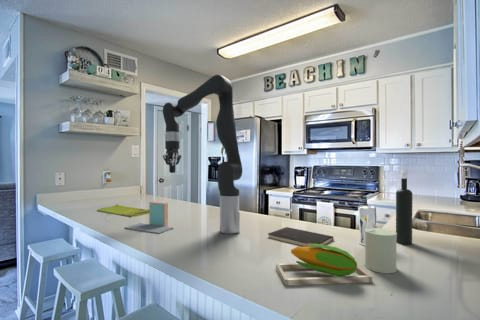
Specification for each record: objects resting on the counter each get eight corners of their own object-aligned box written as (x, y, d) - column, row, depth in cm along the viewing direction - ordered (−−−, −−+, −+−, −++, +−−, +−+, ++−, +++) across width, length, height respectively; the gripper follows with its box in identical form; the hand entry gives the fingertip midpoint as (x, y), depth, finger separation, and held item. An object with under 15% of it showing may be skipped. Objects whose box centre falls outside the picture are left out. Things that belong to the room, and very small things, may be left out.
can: (358, 262, 90) (358, 226, 90) (385, 261, 90) (385, 226, 90) (374, 273, 81) (374, 234, 80) (403, 273, 81) (403, 233, 81)
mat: (173, 228, 132) (173, 227, 132) (159, 233, 123) (159, 232, 123) (140, 224, 141) (140, 223, 141) (124, 228, 132) (124, 227, 132)
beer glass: (365, 247, 105) (366, 209, 105) (353, 242, 112) (354, 206, 112) (380, 245, 107) (380, 208, 107) (367, 240, 113) (367, 205, 113)
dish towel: (131, 218, 158) (131, 212, 158) (96, 212, 176) (96, 207, 176) (152, 213, 171) (152, 208, 171) (117, 208, 189) (117, 203, 189)
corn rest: (351, 266, 86) (351, 261, 86) (372, 282, 75) (372, 276, 75) (275, 268, 84) (275, 263, 84) (284, 285, 73) (284, 280, 73)
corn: (354, 256, 72) (285, 240, 83) (353, 284, 72) (284, 265, 83) (359, 249, 78) (295, 235, 89) (358, 275, 78) (293, 258, 89)
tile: (167, 226, 137) (167, 202, 137) (164, 227, 135) (164, 203, 135) (152, 224, 141) (152, 201, 141) (149, 225, 139) (149, 202, 139)
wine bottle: (393, 242, 111) (393, 170, 111) (398, 239, 115) (399, 169, 114) (409, 246, 106) (409, 170, 106) (414, 243, 110) (414, 170, 110)
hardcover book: (316, 250, 102) (316, 244, 102) (267, 238, 118) (267, 233, 118) (333, 241, 114) (333, 236, 114) (287, 231, 130) (287, 226, 130)
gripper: (174, 141, 152) (174, 172, 152) (158, 140, 140) (158, 173, 140) (185, 141, 149) (185, 172, 149) (169, 139, 137) (169, 173, 137)
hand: (172, 172), depth 145 cm, fingers closed
